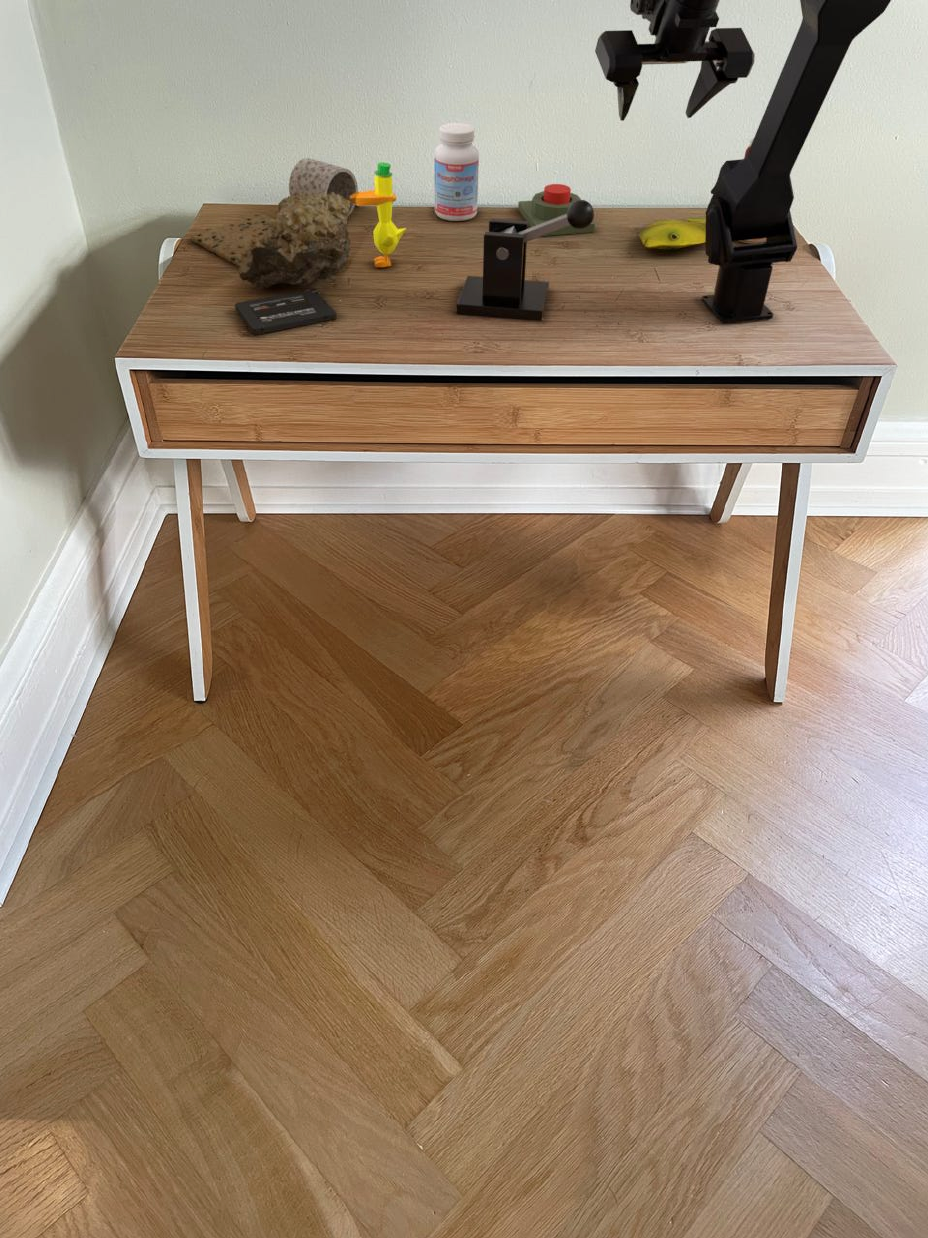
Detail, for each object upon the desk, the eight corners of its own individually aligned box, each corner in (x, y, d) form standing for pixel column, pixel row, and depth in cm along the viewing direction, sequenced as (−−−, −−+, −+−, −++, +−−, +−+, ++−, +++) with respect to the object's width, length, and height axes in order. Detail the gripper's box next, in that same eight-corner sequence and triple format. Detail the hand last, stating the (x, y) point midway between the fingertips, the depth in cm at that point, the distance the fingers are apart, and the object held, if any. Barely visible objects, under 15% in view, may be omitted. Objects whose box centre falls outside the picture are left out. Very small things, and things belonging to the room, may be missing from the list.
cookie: (318, 243, 125) (317, 235, 124) (241, 268, 119) (240, 261, 118) (266, 217, 131) (265, 209, 130) (189, 240, 125) (188, 232, 124)
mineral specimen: (270, 221, 122) (256, 148, 113) (368, 231, 121) (361, 159, 112) (239, 297, 114) (221, 225, 106) (343, 309, 113) (333, 238, 105)
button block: (593, 232, 128) (596, 209, 126) (537, 236, 127) (538, 213, 125) (571, 205, 136) (573, 183, 133) (518, 209, 134) (519, 187, 132)
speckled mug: (284, 203, 130) (319, 215, 127) (294, 152, 128) (330, 162, 125) (331, 217, 138) (365, 228, 135) (342, 169, 136) (377, 180, 133)
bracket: (548, 291, 115) (553, 217, 109) (541, 320, 109) (547, 244, 103) (467, 284, 116) (468, 211, 110) (456, 313, 110) (456, 237, 104)
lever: (598, 217, 105) (589, 191, 104) (597, 227, 103) (587, 201, 102) (501, 254, 110) (491, 230, 108) (497, 265, 108) (487, 240, 106)
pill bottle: (434, 222, 130) (433, 134, 123) (435, 205, 135) (434, 120, 127) (477, 222, 130) (479, 135, 123) (477, 206, 135) (479, 120, 127)
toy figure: (356, 271, 118) (349, 170, 110) (353, 260, 120) (346, 160, 112) (409, 267, 119) (406, 167, 111) (405, 256, 121) (402, 157, 113)
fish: (623, 231, 121) (698, 241, 117) (666, 203, 132) (736, 211, 128) (621, 254, 123) (695, 264, 119) (664, 224, 134) (733, 233, 130)
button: (573, 205, 129) (574, 191, 127) (547, 207, 128) (548, 193, 127) (565, 195, 131) (566, 182, 130) (540, 197, 131) (541, 184, 129)
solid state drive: (253, 329, 105) (253, 335, 105) (337, 312, 108) (337, 318, 109) (233, 302, 109) (234, 308, 110) (315, 288, 113) (315, 293, 113)
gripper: (747, -51, 113) (702, 72, 127) (599, -50, 109) (570, 77, 123) (778, 9, 108) (728, 130, 122) (625, 12, 105) (592, 136, 119)
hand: (654, 116), depth 122 cm, fingers open, 9 cm apart
